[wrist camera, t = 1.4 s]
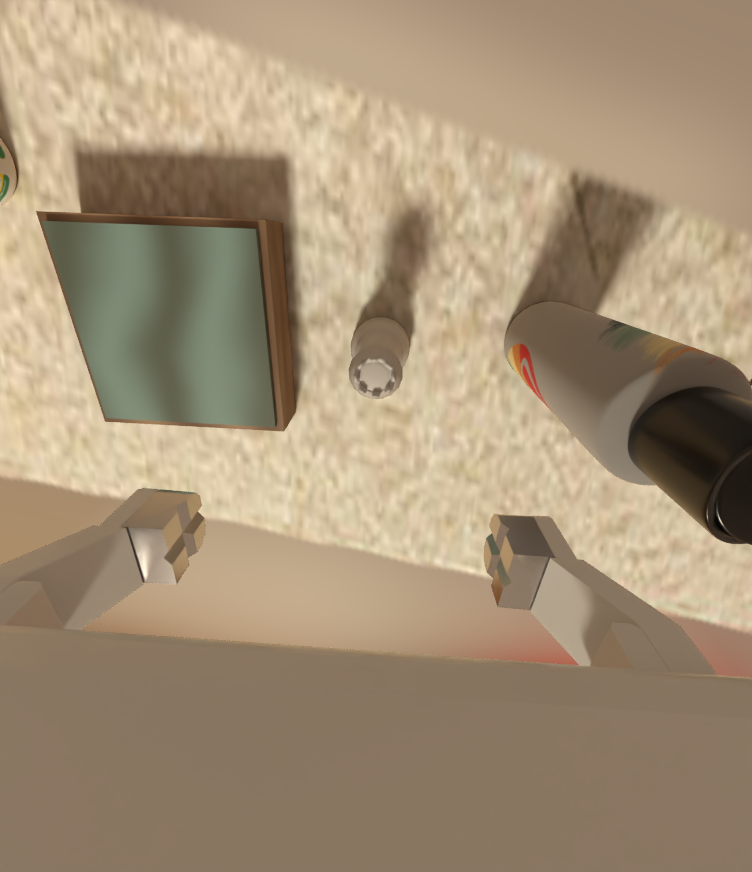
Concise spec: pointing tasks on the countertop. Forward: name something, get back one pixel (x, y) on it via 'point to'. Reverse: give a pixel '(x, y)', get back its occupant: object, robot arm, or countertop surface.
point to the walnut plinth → (179, 316)
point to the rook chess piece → (378, 357)
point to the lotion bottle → (645, 408)
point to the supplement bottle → (6, 174)
